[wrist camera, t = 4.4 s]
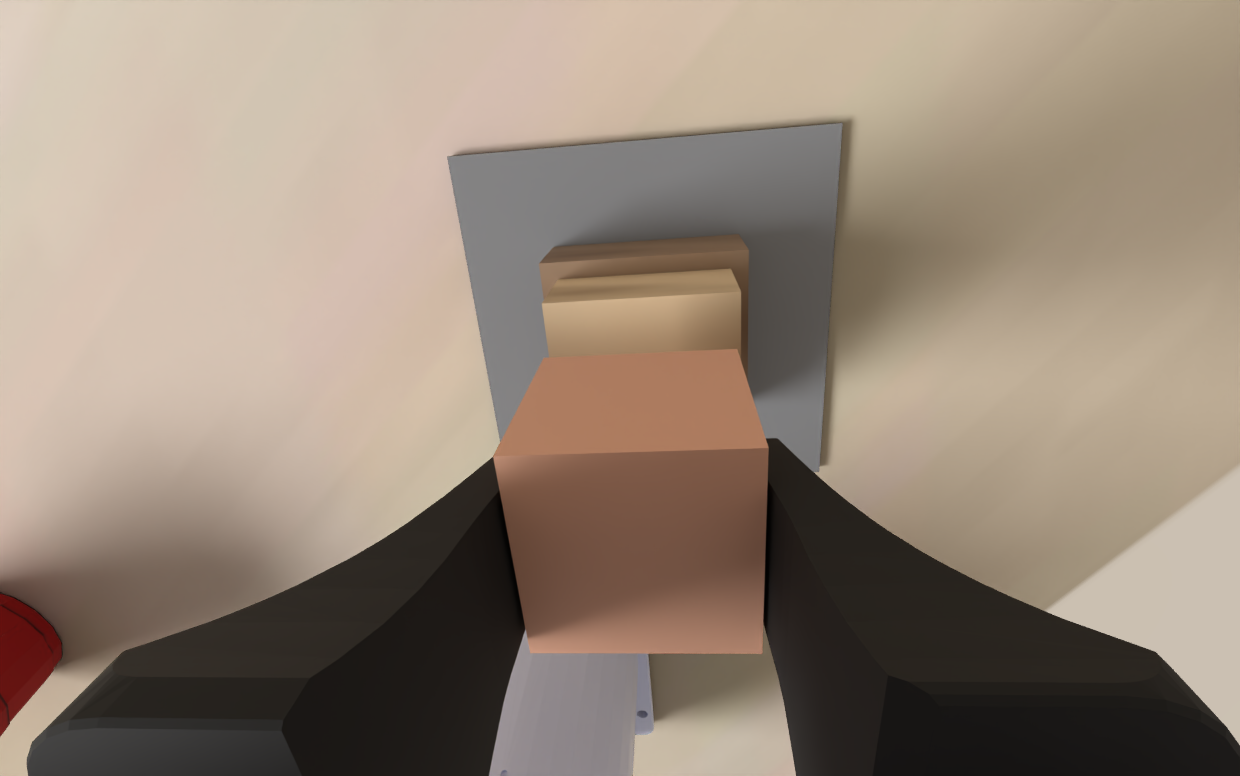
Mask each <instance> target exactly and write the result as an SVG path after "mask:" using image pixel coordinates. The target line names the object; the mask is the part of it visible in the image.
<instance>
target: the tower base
mask: <svg viewBox="0 0 1240 776" xmlns="http://www.w3.org/2000/svg"><path fill="white" fill-rule="evenodd" d="M539 269H540V276H541V283H542V291H543V298H544V299H545V298H546V296H547V295H548V293H549V292H550V290H551V289H552V288H553V286H554V285H555V283H556V282H557V280H558V279H574V278H589V277H605V276H621V275H637V274H653V273H668V272H684V271H700V270H716V269H731V270H732V272H733V275H734V277H735V279H736V281H737V284H738V286H739V288H740V290H741V362H742V366H743V369H744V372H745V375H746V378H747V381H748V285H749V249H748V248H747V246H746V245H745V243H744V242H743V240H742V238H741V237H740V235H739V234H733V235H719V236H704V237H690V238H675V239H660V240H646V241H631V242H617V243H602V244H588V245H573V246H559V247H553V248H552V249H551V250H550V251H549V253H548V254H547V255H546V256H545V257H544V258H543V259H542V261H541V262H540V263H539Z"/></svg>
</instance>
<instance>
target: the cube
mask: <svg viewBox="0 0 1240 776" xmlns="http://www.w3.org/2000/svg"><path fill="white" fill-rule="evenodd" d="M768 452H769V448H768V444H767V441H766V438H765V435H764V432H763V429H762V426H761V422H760V419H759V416H758V413H757V410H756V407H755V403H754V400H753V397H752V394H751V391H750V388H749V385H748V381H747V378H746V375H745V372H744V369H743V366H742V362H741V359H740V356H739V353H738V350H737V349H723V350H701V351H679V352H658V353H636V354H614V355H593V356H571V357H549V358H543V360H542V362H541V364H540V366H539V368H538V370H537V372H536V374H535V376H534V378H533V380H532V382H531V383H530V385H529V387H528V389H527V391H526V393H525V395H524V397H523V399H522V401H521V403H520V405H519V407H518V409H517V411H516V413H515V415H514V417H513V419H512V420H511V422H510V424H509V426H508V428H507V430H506V432H505V434H504V436H503V438H502V440H501V442H500V444H499V446H498V448H497V450H496V452H495V454H494V456H493V458H494V464H495V469H496V474H497V480H498V485H499V490H500V496H501V501H502V506H503V511H504V517H505V522H506V527H507V533H508V538H509V543H510V549H511V554H512V559H513V565H514V570H515V575H516V580H517V586H518V591H519V596H520V602H521V607H522V612H523V618H524V623H525V628H526V633H527V639H528V644H529V649H530V653H636V654H762V646H763V614H764V582H765V549H766V517H767V485H768Z"/></svg>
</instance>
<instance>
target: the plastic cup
mask: <svg viewBox="0 0 1240 776" xmlns="http://www.w3.org/2000/svg"><path fill="white" fill-rule="evenodd" d="M61 658H62V648H61V641H60V640H59V638H58V636H57V634H56V633H55V631H54V629H53V627H52V626H51V625H50V624H49V623H48V622H47V621H46V620H45V619H44V618H43V617H42V616H41V615H39V614H38V613H37V612H36V611H35V610H34V609H32V608H30V607H28V606H27V605H25V604H23V603H22V602H20V601H18V600H16V599H15V598H13V597H10V596H7V595H3V594H0V736H1V735H2V734H3V732H4V731H5V730H6V728H7V727H8V726H9V724H10V721H11V720H12V719H13V718H14V717H15V716H16V714H17V713H18V712H19V711H20V710H21V709H22V708H23V706H24V705H25V704H26V703H27V702H28V701H29V699H30V698H31V697H32V696H33V695H34V694H35V692H36V691H37V690H38V689H39V688H40V687H41V685H42V684H43V683H44V682H45V681H46V679H47V678H48V677H49V676H50V674H51V673H52V672H53V670H54V667H55V666H56V664H57V663H58V662H59V660H60V659H61Z"/></svg>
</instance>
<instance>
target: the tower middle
mask: <svg viewBox="0 0 1240 776" xmlns="http://www.w3.org/2000/svg"><path fill="white" fill-rule="evenodd" d="M542 309H543V317H544V324H545V331H546V338H547V345H548V353H549V357H571V356H593V355H614V354H636V353H658V352H679V351H701V350H723V349H737V350H738V353H739V356H740V359H741V290H740V288H739V286H738V284H737V281H736V279H735V277H734V275H733V272H732V270H731V269H716V270H700V271H684V272H668V273H653V274H637V275H621V276H605V277H589V278H574V279H558V280H557V282H556V283H555V285H554V286H553V288H552V289H551V290H550V292H549V293H548V295H547V296H546V298H545V299H544V301H543V302H542Z"/></svg>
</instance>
